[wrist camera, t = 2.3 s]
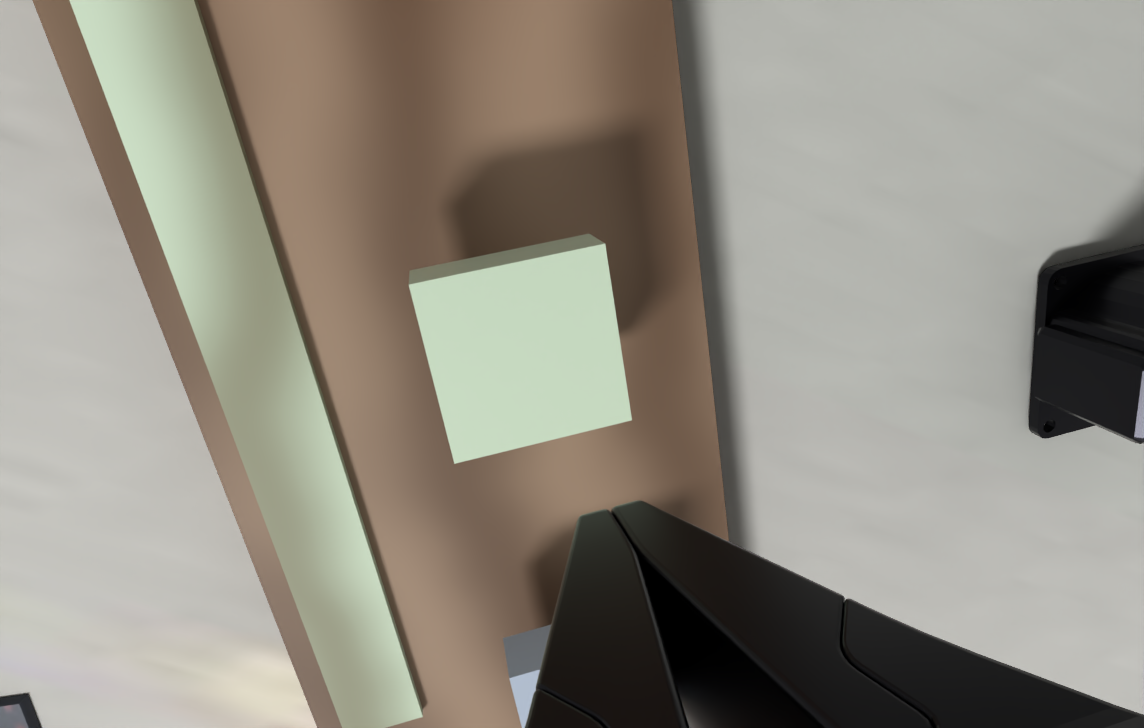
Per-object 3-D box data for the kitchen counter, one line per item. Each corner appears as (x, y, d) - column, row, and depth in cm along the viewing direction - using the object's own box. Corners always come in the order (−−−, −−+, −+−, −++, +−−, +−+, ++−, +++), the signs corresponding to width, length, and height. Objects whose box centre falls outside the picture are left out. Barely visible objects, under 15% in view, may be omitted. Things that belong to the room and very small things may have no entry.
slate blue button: (647, 597, 21) (664, 633, 20) (664, 708, 23) (682, 750, 21) (502, 638, 20) (509, 678, 19) (530, 749, 22) (538, 794, 20)
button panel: (610, -301, 17) (638, -364, 15) (719, 626, 27) (745, 669, 24) (-19, -238, 15) (-92, -298, 13) (345, 735, 25) (338, 792, 23)
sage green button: (589, 233, 17) (605, 243, 16) (615, 396, 19) (632, 420, 17) (409, 270, 17) (408, 284, 15) (451, 436, 18) (454, 463, 17)
